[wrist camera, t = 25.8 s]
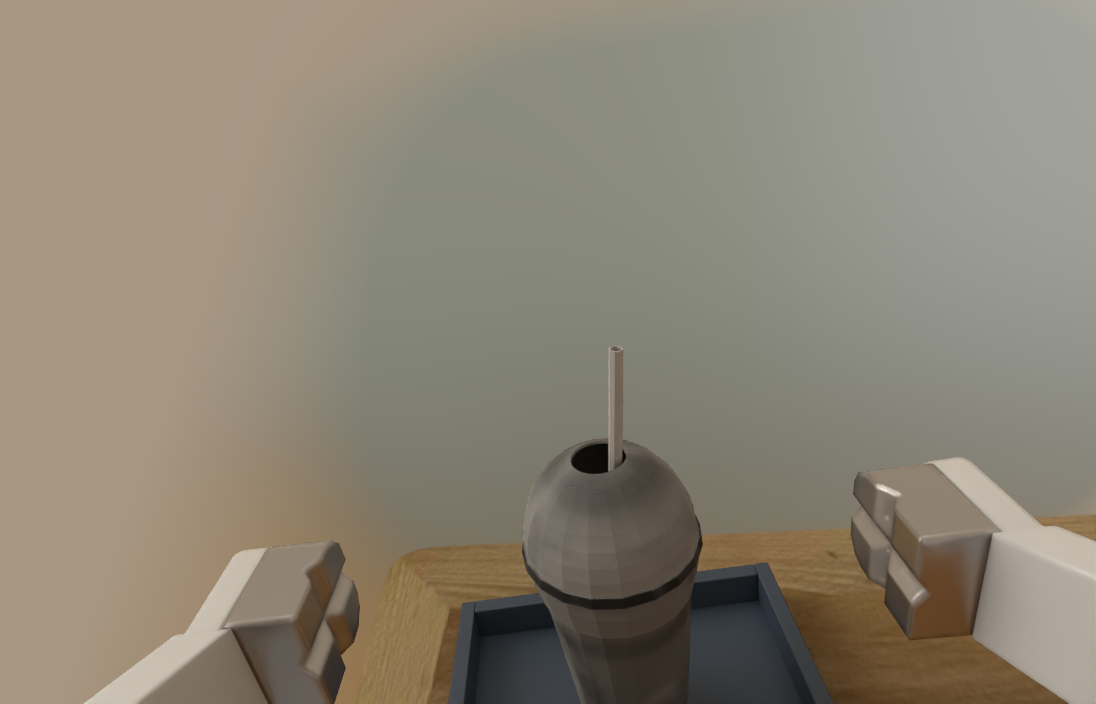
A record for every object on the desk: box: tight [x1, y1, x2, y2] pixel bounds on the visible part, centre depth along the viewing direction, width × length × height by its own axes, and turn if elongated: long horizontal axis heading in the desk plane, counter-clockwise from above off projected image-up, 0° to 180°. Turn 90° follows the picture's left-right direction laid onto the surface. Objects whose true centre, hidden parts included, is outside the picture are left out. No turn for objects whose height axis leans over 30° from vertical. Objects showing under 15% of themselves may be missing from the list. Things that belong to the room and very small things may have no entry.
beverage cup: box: [522, 346, 703, 704], centre depth 26 cm, size 7×7×20 cm
